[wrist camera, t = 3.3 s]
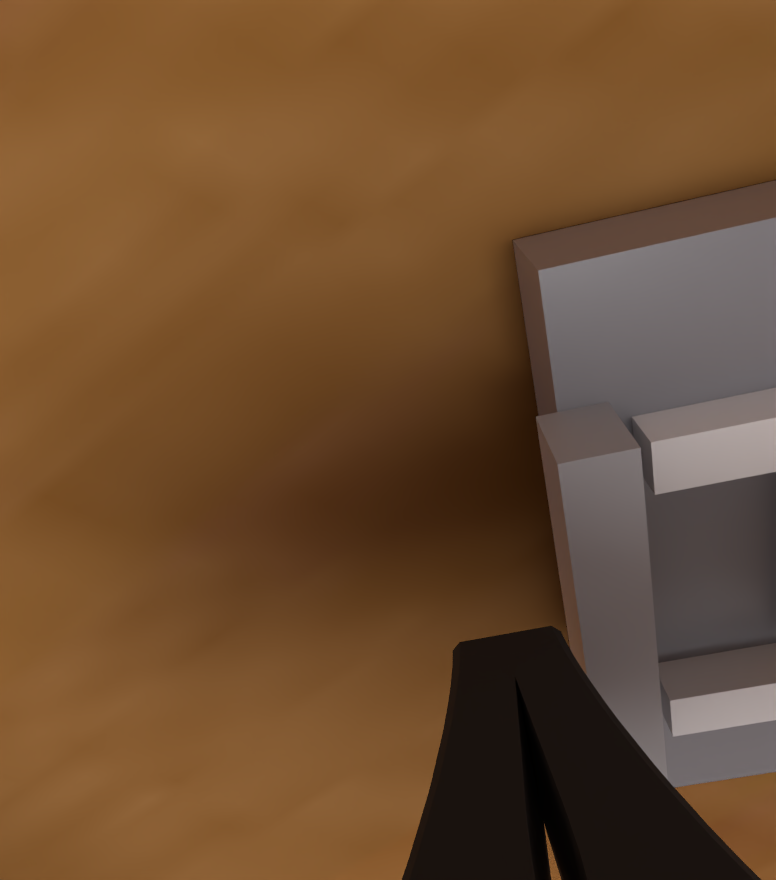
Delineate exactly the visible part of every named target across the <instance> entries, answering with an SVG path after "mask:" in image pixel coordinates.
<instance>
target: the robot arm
mask: <svg viewBox="0 0 776 880" xmlns="http://www.w3.org/2000/svg"><path fill="white" fill-rule="evenodd" d="M544 824H545V827H546V831H547V834H548V837H549V840H550V844H551V847H552V850H553V853H554V857H555V860H556V863H557V866H558V870H559V873H560V876H561V879H562V880H761V879H760V878H759V877H758V876H757V875H756V874H755V873H754V872H753V871H752V870H751V869H750V868H749V867H748V866H747V865H746V864H745V863H744V862H743V861H742V860H741V859H740V858H739V857H738V856H737V855H736V854H735V853H734V852H733V851H732V850H731V849H730V848H729V847H728V846H727V845H726V844H725V843H724V842H723V840H722V839H721V838H720V837H719V836H718V835H717V834H716V833H715V832H714V831H713V830H712V829H711V828H710V827H709V826H708V825H707V823H706V822H705V821H704V820H703V819H702V818H701V817H700V816H699V815H698V813H697V812H696V811H695V810H694V809H693V808H692V807H691V806H690V805H689V803H688V802H687V801H686V800H685V799H684V798H683V797H682V796H681V795H680V793H679V792H678V791H677V790H676V789H675V788H674V787H673V786H672V784H671V783H670V782H669V781H668V780H667V779H666V777H665V776H664V775H663V774H662V773H661V772H660V770H659V769H658V768H657V767H656V766H655V765H654V763H653V762H652V761H651V760H650V758H649V757H648V756H647V755H646V753H645V752H644V751H643V750H642V748H641V747H640V746H639V745H638V743H637V742H636V741H635V740H634V739H633V737H632V736H631V735H630V734H629V732H628V731H627V730H626V729H625V727H624V726H623V725H622V724H621V722H620V721H619V720H618V718H617V717H616V716H615V714H614V713H613V712H612V710H611V709H610V708H609V706H608V705H607V704H606V702H605V701H604V700H603V698H602V697H601V695H600V694H599V693H598V691H597V690H596V688H595V687H594V685H593V684H592V683H591V681H590V680H589V678H588V677H587V675H586V674H585V672H584V671H583V669H582V668H581V666H580V665H579V663H578V661H577V660H576V658H575V657H574V655H573V653H572V652H571V650H570V648H569V646H568V645H567V643H566V641H565V639H564V637H563V635H562V633H561V631H559V630H557V629H556V628H554V627H552V626H548V627H542V628H537V629H531V630H526V631H520V632H514V633H509V634H503V635H498V636H492V637H486V638H481V639H475V640H470V641H464V642H460V643H459V644H458V645H457V646H456V647H455V648H454V650H453V668H452V679H451V688H450V695H449V702H448V708H447V713H446V719H445V724H444V730H443V735H442V739H441V743H440V747H439V752H438V756H437V760H436V765H435V769H434V773H433V778H432V782H431V786H430V789H429V793H428V797H427V800H426V804H425V807H424V810H423V814H422V817H421V820H420V824H419V827H418V830H417V834H416V837H415V840H414V844H413V847H412V850H411V854H410V857H409V860H408V863H407V866H406V869H405V872H404V875H403V878H402V880H551V875H550V867H549V859H548V851H547V843H546V836H545V828H544Z"/></svg>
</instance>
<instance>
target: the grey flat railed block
mask: <svg viewBox="0 0 776 880" xmlns="http://www.w3.org/2000/svg"><path fill="white" fill-rule="evenodd" d="M513 246H514V253H515V260H516V267H517V273H518V280H519V287H520V294H521V301H522V307H523V314H524V321H525V328H526V334H527V341H528V348H529V355H530V362H531V368H532V375H533V382H534V389H535V396H536V402H537V409H538V416H536V423H537V430H538V436H539V443H540V450H541V457H542V463H543V470H544V477H545V483H546V490H547V497H548V503H549V510H550V517H551V523H552V530H553V537H554V544H555V550H556V557H557V564H558V570H559V577H560V584H561V590H562V597H563V604H564V611H565V617H566V624H567V631H568V637H569V644H570V650H571V652H572V653H573V655H574V657H575V658H576V660H577V661H578V663H579V665H580V666H581V668H582V669H583V671H584V672H585V674H586V675H587V677H588V678H589V680H590V681H591V683H592V684H593V685H594V687H595V688H596V690H597V691H598V693H599V694H600V695H601V697H602V698H603V700H604V701H605V702H606V704H607V705H608V706H609V708H610V709H611V710H612V712H613V713H614V714H615V716H616V717H617V718H618V720H619V721H620V722H621V724H622V725H623V726H624V727H625V729H626V730H627V731H628V732H629V734H630V735H631V736H632V737H633V739H634V740H635V741H636V742H637V743H638V745H639V746H640V747H641V748H642V750H643V751H644V752H645V753H646V755H647V756H648V757H649V758H650V760H651V761H652V762H653V763H654V765H655V766H656V767H657V768H658V769H659V770H660V772H661V773H662V774H663V775H664V776H665V777H666V779H667V780H668V781H669V782H670V783H671V784H672V786H673V787H681V786H687V785H694V784H700V783H706V782H713V781H719V780H726V779H732V778H739V777H745V776H752V775H758V774H764V773H771V772H776V180H774V181H770V182H766V183H761V184H757V185H752V186H748V187H744V188H739V189H735V190H730V191H726V192H722V193H717V194H713V195H708V196H704V197H700V198H695V199H691V200H686V201H682V202H678V203H673V204H669V205H664V206H660V207H656V208H651V209H647V210H643V211H638V212H634V213H629V214H625V215H621V216H616V217H612V218H607V219H603V220H599V221H594V222H590V223H585V224H581V225H577V226H572V227H568V228H563V229H559V230H555V231H550V232H546V233H542V234H537V235H533V236H528V237H524V238H520V239H515V240H513Z"/></svg>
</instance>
